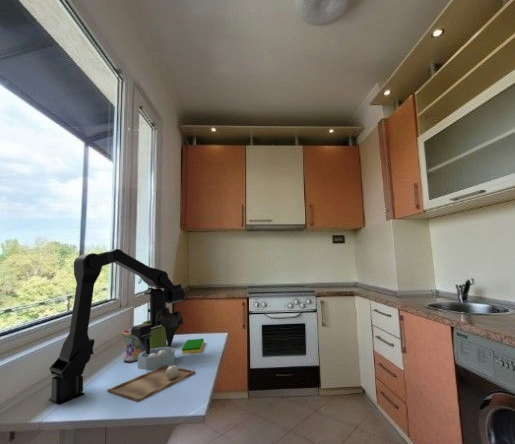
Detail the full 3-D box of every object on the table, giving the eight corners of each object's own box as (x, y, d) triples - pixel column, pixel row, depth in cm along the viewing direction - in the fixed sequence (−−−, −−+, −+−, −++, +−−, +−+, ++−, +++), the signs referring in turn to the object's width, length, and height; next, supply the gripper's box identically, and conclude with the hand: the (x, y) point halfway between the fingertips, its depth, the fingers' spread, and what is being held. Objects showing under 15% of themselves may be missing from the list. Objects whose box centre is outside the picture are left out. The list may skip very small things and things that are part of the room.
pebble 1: (156, 348, 103) (164, 348, 106) (153, 360, 102) (161, 359, 105) (163, 350, 101) (171, 350, 104) (160, 362, 100) (168, 362, 103)
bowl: (153, 372, 93) (153, 360, 94) (131, 367, 100) (131, 355, 100) (181, 360, 103) (181, 349, 104) (160, 356, 110) (159, 345, 110)
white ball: (154, 368, 98) (149, 360, 97) (147, 366, 100) (142, 358, 99) (162, 359, 101) (158, 351, 100) (155, 357, 103) (151, 349, 102)
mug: (145, 361, 105) (144, 331, 107) (118, 364, 104) (118, 334, 105) (151, 351, 117) (151, 325, 118) (128, 354, 115) (127, 327, 117)
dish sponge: (181, 355, 110) (181, 349, 111) (187, 345, 124) (187, 339, 124) (200, 354, 111) (200, 347, 111) (203, 344, 125) (203, 338, 125)
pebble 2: (171, 382, 83) (171, 368, 84) (163, 380, 85) (162, 366, 86) (181, 377, 87) (181, 364, 87) (173, 375, 89) (172, 362, 89)
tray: (137, 403, 72) (137, 399, 73) (107, 393, 80) (107, 389, 80) (195, 374, 89) (195, 371, 89) (165, 368, 97) (165, 365, 97)
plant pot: (170, 350, 117) (169, 322, 119) (139, 354, 115) (139, 325, 117) (172, 342, 129) (172, 317, 130) (145, 346, 126) (144, 319, 128)
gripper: (150, 311, 93) (151, 361, 91) (192, 301, 108) (194, 344, 106) (129, 310, 99) (130, 357, 97) (172, 301, 114) (173, 342, 112)
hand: (159, 350), depth 103 cm, fingers open, 9 cm apart
